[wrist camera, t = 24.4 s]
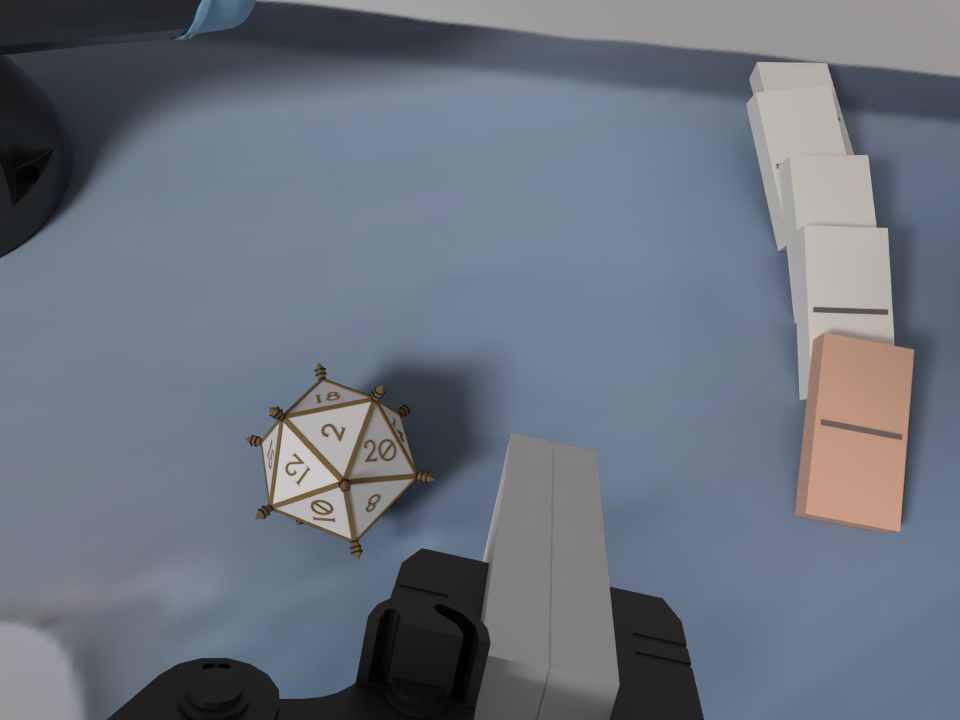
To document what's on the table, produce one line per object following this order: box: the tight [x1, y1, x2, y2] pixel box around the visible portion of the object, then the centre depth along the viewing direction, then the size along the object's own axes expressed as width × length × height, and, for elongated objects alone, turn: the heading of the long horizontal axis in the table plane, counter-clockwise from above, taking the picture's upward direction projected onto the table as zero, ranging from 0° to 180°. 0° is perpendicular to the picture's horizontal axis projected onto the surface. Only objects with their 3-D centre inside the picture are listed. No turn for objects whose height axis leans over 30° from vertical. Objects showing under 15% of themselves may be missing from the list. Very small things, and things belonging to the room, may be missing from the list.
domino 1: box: [749, 62, 854, 155], centre depth 62 cm, size 2×5×10 cm
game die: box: [246, 363, 435, 560], centre depth 45 cm, size 9×8×10 cm
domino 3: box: [778, 155, 877, 324], centre depth 56 cm, size 2×5×10 cm
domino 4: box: [793, 225, 895, 400], centre depth 53 cm, size 2×5×10 cm
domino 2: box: [746, 85, 846, 251], centre depth 58 cm, size 2×5×10 cm
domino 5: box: [795, 333, 914, 533], centre depth 50 cm, size 2×5×10 cm
